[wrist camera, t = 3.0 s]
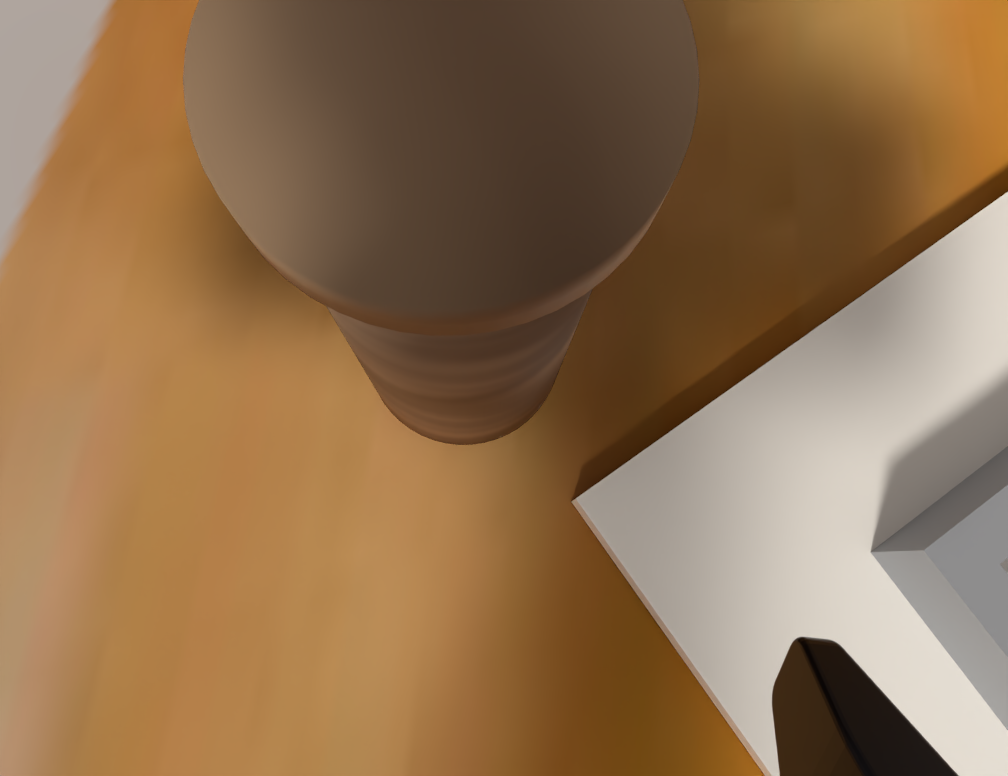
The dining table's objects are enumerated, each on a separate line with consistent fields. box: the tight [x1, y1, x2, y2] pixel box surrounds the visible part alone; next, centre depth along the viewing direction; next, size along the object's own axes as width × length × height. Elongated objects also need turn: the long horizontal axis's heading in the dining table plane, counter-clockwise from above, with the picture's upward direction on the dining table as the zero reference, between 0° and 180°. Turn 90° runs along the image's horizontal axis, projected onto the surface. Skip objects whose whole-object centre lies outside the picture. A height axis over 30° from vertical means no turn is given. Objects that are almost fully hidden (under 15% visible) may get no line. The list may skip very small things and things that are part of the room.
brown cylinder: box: [183, 0, 699, 445], centre depth 16 cm, size 6×6×13 cm
